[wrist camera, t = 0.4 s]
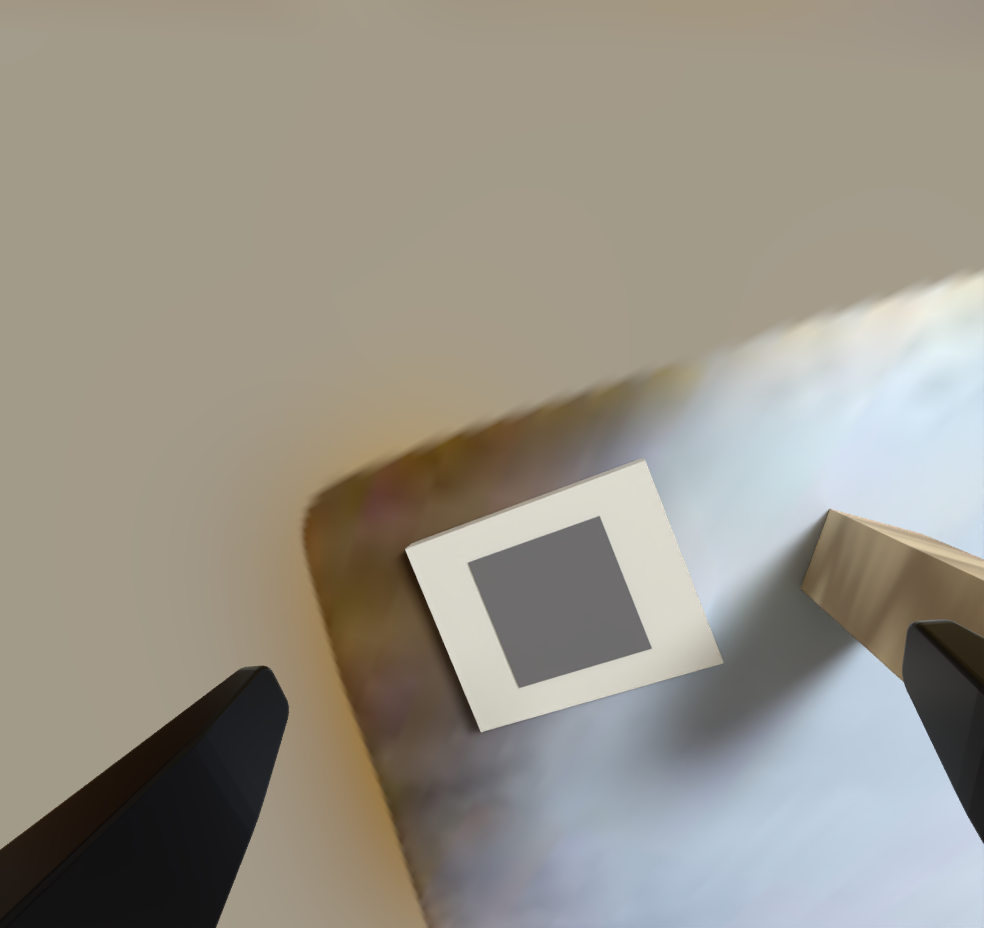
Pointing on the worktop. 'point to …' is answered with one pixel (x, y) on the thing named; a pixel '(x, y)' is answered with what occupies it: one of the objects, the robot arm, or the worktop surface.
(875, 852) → the worktop surface
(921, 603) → the wooden block
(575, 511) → the mat
